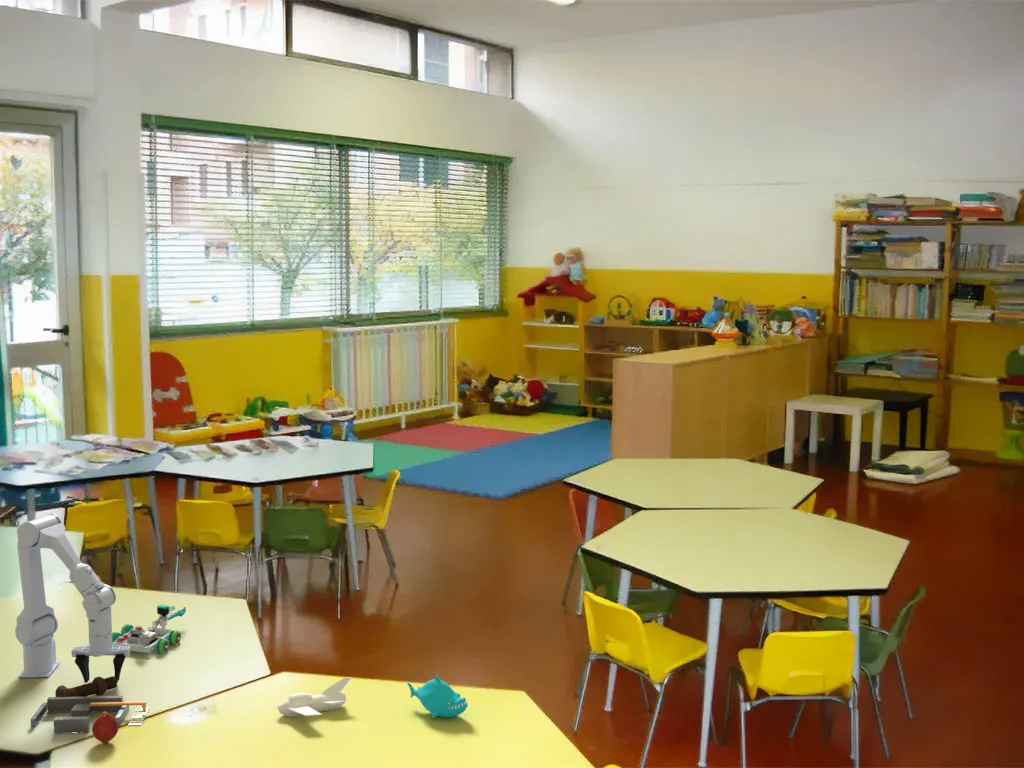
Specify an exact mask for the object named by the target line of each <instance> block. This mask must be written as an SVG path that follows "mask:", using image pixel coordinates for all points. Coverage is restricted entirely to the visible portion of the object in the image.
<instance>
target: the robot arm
mask: <svg viewBox="0 0 1024 768" xmlns="http://www.w3.org/2000/svg"><path fill="white" fill-rule="evenodd" d="M16 535H17V544H16V545H17V547H16V548H17V555H18V564H19V575H20V583H21V590H22V591H21V592H22V601H23V609H22V610H21V612H20V613H19V614H18V615H17V617H16V626H15V631H14V633H15V637H16V639H17V640H18V642H19V643H20V645H22V654H23V670H22V671H21V672H20V674H19V675H18V678H49V677H50V676H51V675H52V674H53V673H54V671H55V670H56V668H57V667H58V666H59V665H60V663H61V661H58V660H57V652H56V651H57V650H56V648H57V647H56V645H57V644H56V640H55V638H54V637H55V636H54V634H55V633H56V632H57V630H58V628H59V624H58V619H57V617H56V615H55V611H54V610H55V609H54V608H53V607H51V606H50V605H47V601H46V593H45V582H44V581H45V580H44V573H43V563H42V555H41V553H42V552H41V549H49V550H52V552H54V554H55V555H56V556H57V557H58V559H60V561H61V562H62V563H63V564H64V565H65V567H66V568H67V569H68V570H69V577H68V578H69V580H70V581H71V582H72V585H74V587H75V589H76V590H77V591H78V592H79V594H80V595H81V597H82V598H83V600H82V601H81V602H82V606H83V609H84V611H85V612H86V618H87V621H88V645H85V646H83V645H82V646H75V647H72V649H71V657H72V658H75V659H74V663H75V665H76V666H77V667H78V670H79V671H80V673H81V676H82V679H83V682H84V683H83V684H87V683H89V681H90V678H91V677H90V657H92V656H93V658H98V657H99V658H100V657H102V656H103V657H104V656H114V658H113V659H112V663H113V669H114V675H113V676H114V677H115V678H116V679H117V681H118V682H119V680H120V676H121V671H122V668H123V665H124V663H125V660H126V657H130V654H131V650H130V647H131V646H124V645H123V646H118V645H112V632H113V628H112V627H113V625H112V624H113V623H112V606H113V605H114V604H115V603H116V600H117V599H116V598H117V596H116V593H115V591H114V588H113V587H111V586H110V585H108V584H105V582H102V581H101V580H100V578H99V577H98V576H97V574H96V573H95V571H94V569H93V568H92V567H91V566H90V564H87V563H83V562H82V561H81V559H80V557H79V556H78V553H76V551H75V550H74V548H73V546H72V545H71V542H70V541H69V540H68V538H67V535H66V525H64V523H63V521H62V519H61V518H60V516H58V515H57V514H55V513H49V514H47V515H45V516H41V517H38V518H34V519H31V520H29V521H23V522H22V523H21V524H20V525H19V526H18V527H17V528H16Z"/></svg>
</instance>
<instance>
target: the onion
mask: <svg viewBox="0 0 1024 768" xmlns="http://www.w3.org/2000/svg"><path fill="white" fill-rule="evenodd" d="M118 731H119V726H118V722H117V720H116V719H115V717H114V716H113V715H112V714H111V713H110V714H109V713H108V711H102V713H101V714H100V715H99V716H98V717H97V718H96V719H95V720H94V722H93V724H92V727H91V732H92V736H93V737H94V738H95V740H97V741H99V742H100V743H102V744H105V745H106V744H108V743H109V742H111V741H112V740H113V739H114V738H115V736H116V735H117V734H118Z"/></svg>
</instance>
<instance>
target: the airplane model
mask: <svg viewBox="0 0 1024 768" xmlns="http://www.w3.org/2000/svg"><path fill="white" fill-rule="evenodd" d="M351 678H352V676H349V677H348V676H347V677H344V678H342V679H340V680H339V681H336V682H335V683H334V684H332V685H331V686H329V687H327V688H326V689H325V690H324V691H323V692H321V694H314V695H312V694H310V693H308V692H295V693H292V694H291V695H289V696H288V698H287V699H286V700H284V701H283V702H281V703H280V704H278V705H277V710H278V712H279V714H281V715H284V716H285V717H288V718H291V717H294V716H295V717H297V716H304V717H306V718H307V717H315V716H319V715H321V716H322V715H323V714H322V713H320V712H326V711H331V710H338V709H340V707H342V706H343V705H344V704H345V703H346V702H348V701H349V700H348V699H346V698H347V697H346V692H344V691H342V690H343V689H344V688H345V686H346V685H347V684H348V683H349V681H350V680H351Z"/></svg>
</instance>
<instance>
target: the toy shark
mask: <svg viewBox="0 0 1024 768" xmlns="http://www.w3.org/2000/svg"><path fill="white" fill-rule="evenodd" d="M407 686H408V688H409V690H410V698H413V697H417V700H419V701H420V704H421V705H422V707H424V708H425V710H426V711H428V712H429V713H430V714H431V718H436V717H437V716H438V717H441V718H453V717H458V716H459V715H461V714H463V713H464V712H465V711H466V710H467V708H468V705H469V704H468V702H467V699H466V697H461V694H460V693H459V692H456V691H455V690H454V689H453V688H452V687H451V686H450V685H449V684H448V683H447V682H446V681H444V680H441V679H440V676H439V674H438V673H436V675H435V678H433V679H430V680H428V681H426V682H425V684H423V685H422V686H417V687H418V688H417V689H415V688H414V687H413V685H412V684H411V683H410V682H407Z"/></svg>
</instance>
